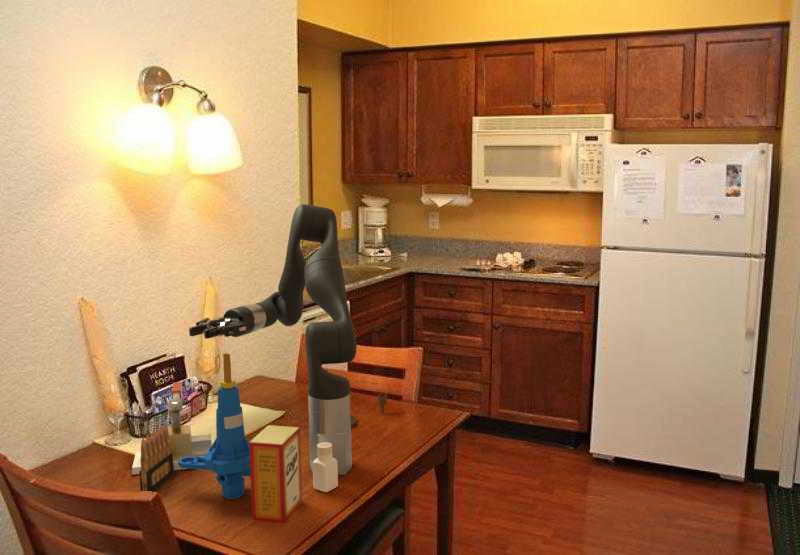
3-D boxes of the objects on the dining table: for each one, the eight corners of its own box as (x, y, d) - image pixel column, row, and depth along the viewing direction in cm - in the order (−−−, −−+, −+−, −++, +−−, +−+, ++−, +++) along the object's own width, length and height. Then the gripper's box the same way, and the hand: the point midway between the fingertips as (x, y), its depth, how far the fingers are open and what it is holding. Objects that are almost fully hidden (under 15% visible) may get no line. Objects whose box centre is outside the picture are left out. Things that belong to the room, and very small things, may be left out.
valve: (194, 478, 160) (186, 343, 155) (267, 485, 156) (261, 347, 151) (167, 500, 150) (158, 357, 145) (245, 509, 146) (238, 362, 141)
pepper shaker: (312, 488, 154) (310, 445, 153) (325, 482, 157) (324, 439, 156) (326, 494, 152) (325, 450, 150) (339, 487, 155) (338, 444, 154)
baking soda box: (271, 497, 150) (268, 423, 148) (301, 500, 149) (299, 425, 146) (252, 520, 141) (249, 440, 139) (284, 523, 140) (281, 443, 137)
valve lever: (184, 388, 181) (184, 381, 181) (182, 410, 165) (181, 403, 165) (171, 389, 180) (170, 382, 180) (167, 412, 165) (166, 404, 164)
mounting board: (220, 450, 175) (220, 443, 175) (221, 465, 167) (221, 458, 166) (136, 458, 171) (136, 452, 170) (132, 474, 162) (132, 467, 162)
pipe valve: (211, 447, 173) (209, 403, 171) (211, 456, 167) (209, 411, 166) (144, 454, 169) (141, 408, 167) (142, 463, 164) (139, 417, 162)
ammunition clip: (166, 473, 163) (163, 421, 161) (174, 473, 162) (171, 421, 160) (140, 494, 152) (136, 439, 150) (148, 495, 152) (144, 440, 150)
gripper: (224, 303, 198) (175, 315, 184) (265, 308, 191) (218, 321, 177) (225, 330, 200) (177, 344, 185) (266, 336, 193) (220, 351, 178)
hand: (198, 333), depth 181 cm, fingers open, 4 cm apart
